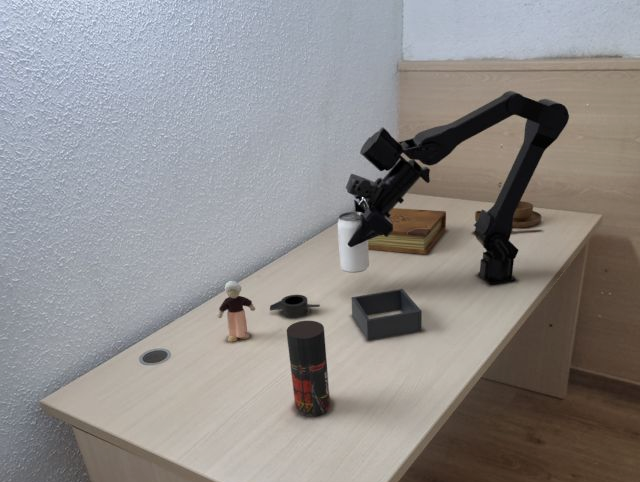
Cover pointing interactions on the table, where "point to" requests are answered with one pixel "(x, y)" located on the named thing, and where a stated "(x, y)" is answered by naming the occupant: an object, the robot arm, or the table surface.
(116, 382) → the table surface
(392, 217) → the diary
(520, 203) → the place setting
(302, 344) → the deodorant
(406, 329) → the bin
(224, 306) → the grandmother figurine
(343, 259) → the can
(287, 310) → the dark ring with tabs
